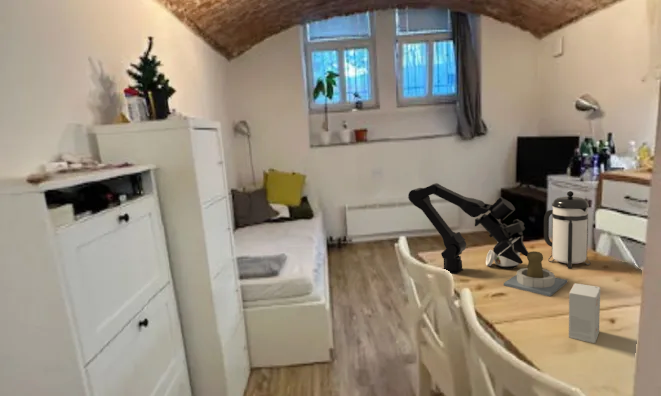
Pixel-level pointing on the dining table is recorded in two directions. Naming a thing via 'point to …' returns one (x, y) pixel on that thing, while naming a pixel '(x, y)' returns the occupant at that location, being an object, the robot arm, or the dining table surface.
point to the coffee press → (568, 229)
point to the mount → (536, 282)
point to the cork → (535, 265)
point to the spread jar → (501, 260)
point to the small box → (584, 312)
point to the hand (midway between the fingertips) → (525, 259)
